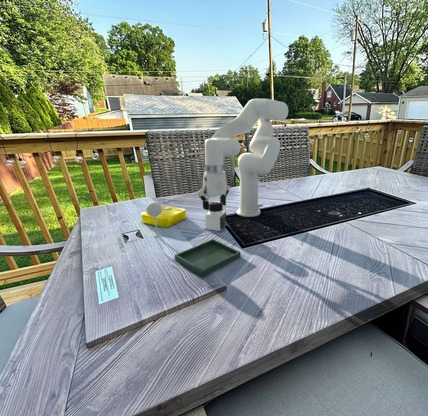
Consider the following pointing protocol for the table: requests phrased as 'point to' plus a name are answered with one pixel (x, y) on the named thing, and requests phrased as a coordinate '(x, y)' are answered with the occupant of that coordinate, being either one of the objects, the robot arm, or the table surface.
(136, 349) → the table surface
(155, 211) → the lollipop
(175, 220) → the yellow flat block
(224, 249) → the tray
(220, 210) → the medicine bottle
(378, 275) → the table surface
